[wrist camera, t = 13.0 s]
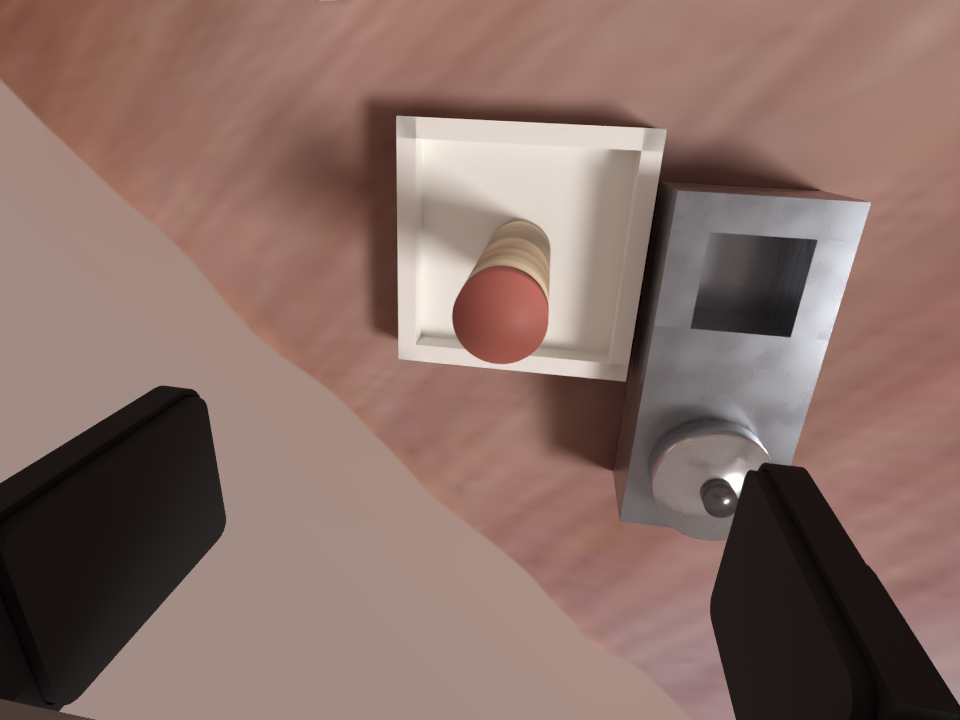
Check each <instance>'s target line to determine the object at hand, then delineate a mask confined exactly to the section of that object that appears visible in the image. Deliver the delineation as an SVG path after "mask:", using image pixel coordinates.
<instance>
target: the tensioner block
mask: <svg viewBox="0 0 960 720" xmlns="http://www.w3.org/2000/svg"><path fill="white" fill-rule="evenodd" d="M870 205H871V202H867V201H863V200H859V199H854V198H850V197H846V196H842V195H837V194H833V193H829V192H825V191H815V190H798V189H781V188H765V187H748V186H731V185H714V184H697V183H681V182H664V181H660V187H659V193H658V200H657V206H656V212H655V218H654V224H653V230H652V236H651V242H650V249H649V255H648V261H647V267H646V273H645V279H644V285H643V291H642V298H641V304H640V310H639V316H638V322H637V328H636V334H635V340H634V347H633V353H632V359H631V365H630V371H629V377H628V383H627V389H626V395H625V402H624V408H623V414H622V420H621V426H620V432H619V438H618V444H617V451H616V457H615V463H614V469H613V475H614V482H615V490H616V497H617V505H618V512H619V519H620V521H623V522H631V523H639V524H647V525H654V526H662V527H670V528H674V529H675V530H677V531H679V532H680V533H682V534H684V535H687V536H689V537H693V538H696V539H701V540H710V541H721V540H727V539H728V535H729V531H730V528H731V524H732V521H733V517H734V514H735V510H736V506H737V503H738V499H739V496H740V492H741V488H742V485H743V481H744V478H745V475H746V473H747V472H748V471H749V470H756V471H758V469H759V467H760V466H761V464H763V463H764V462H765V463H773V464H781V465H789V466H791V463H792V459H793V456H794V453H795V450H796V446H797V443H798V440H799V437H800V433H801V430H802V427H803V424H804V420H805V417H806V414H807V410H808V407H809V404H810V401H811V397H812V394H813V391H814V388H815V384H816V381H817V378H818V375H819V371H820V368H821V365H822V361H823V358H824V355H825V352H826V348H827V345H828V342H829V339H830V335H831V332H832V329H833V326H834V322H835V319H836V316H837V313H838V309H839V306H840V303H841V299H842V296H843V293H844V290H845V286H846V283H847V280H848V277H849V273H850V270H851V267H852V264H853V260H854V257H855V254H856V250H857V247H858V244H859V241H860V237H861V234H862V231H863V228H864V224H865V221H866V218H867V215H868V211H869V208H870Z"/></svg>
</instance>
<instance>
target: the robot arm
mask: <svg viewBox="0 0 960 720" xmlns="http://www.w3.org/2000/svg"><path fill="white" fill-rule="evenodd" d="M225 524H226V515H225V510H224V503H223V497H222V492H221V485H220V479H219V474H218V467H217V462H216V456H215V450H214V444H213V438H212V432H211V426H210V420H209V415H208V409H207V405H206V403H205V401H204V400H203V399H201V398H200V396H199V395H198V394H197V392H196V391H194V390H192V389H186V388H178V387H170V386H159V387H156V388H154V389H153V390H151V391H150V392H148V393H146V394H145V395H143V396H141V397H140V398H138V399H136V400H135V401H133V402H132V403H130V404H128V405H127V406H125V407H124V408H122V409H120V410H119V411H117V412H116V413H114V414H112V415H111V416H109V417H107V418H106V419H104V420H102V421H101V422H99V423H97V424H96V425H94V426H93V427H91V428H89V429H88V430H86V431H85V432H83V433H81V434H80V435H78V436H76V437H75V438H73V439H72V440H70V441H68V442H67V443H65V444H64V445H62V446H60V447H59V448H57V449H55V450H54V451H52V452H50V453H49V454H47V455H46V456H44V457H43V458H41V459H39V460H37V461H36V462H34V463H33V464H31V465H29V466H28V467H26V468H25V469H23V470H22V471H20V472H18V473H16V474H15V475H13V476H11V477H10V478H8V479H7V480H5V481H3V482H2V483H0V720H94V719H90V718H85V717H80V716H76V715H71V714H66V713H62V712H59V711H60V710H61V708H62V707H63V706H64V705H68V704H70V703H72V702H74V701H75V700H76V699H78V698H79V697H80V696H81V695H82V693H83V692H84V691H85V690H86V689H87V688H88V687H89V686H90V684H91V683H92V682H93V681H94V680H95V679H96V678H97V677H98V675H99V674H100V673H101V672H102V671H103V670H104V668H105V667H106V666H107V665H108V664H109V663H110V662H111V661H112V660H113V658H114V657H115V656H116V655H117V654H118V653H119V651H120V650H121V649H122V648H123V647H124V646H125V645H126V643H128V641H129V640H130V639H131V638H132V637H133V636H134V635H135V633H136V632H137V631H138V630H139V629H140V628H141V627H142V625H143V624H144V623H145V622H146V621H147V620H148V619H149V618H150V616H151V615H152V614H153V613H154V612H155V611H156V610H157V609H158V607H159V606H160V605H161V604H162V603H163V602H164V601H165V599H166V598H167V597H168V596H169V595H170V594H171V592H173V590H174V589H175V588H176V587H177V586H178V585H179V584H180V583H181V581H182V580H183V579H184V578H185V577H186V576H187V575H188V573H189V572H190V571H191V570H192V569H193V568H194V567H195V565H196V564H197V563H198V562H199V561H200V560H201V559H202V558H203V556H204V555H205V554H206V553H207V552H208V551H209V550H210V549H211V547H212V546H213V545H214V544H215V543H216V542H217V540H218V539H219V538H220V537H221V535H222V533H223V531H224V528H225ZM710 614H711V621H712V625H713V629H714V633H715V637H716V641H717V645H718V649H719V653H720V657H721V661H722V666H723V670H724V674H725V678H726V682H727V686H728V690H729V694H730V698H731V702H732V706H733V710H734V714H735V718H736V720H960V705H959V704H958V702H957V701H956V699H955V698H954V696H953V694H952V693H951V691H950V690H949V688H948V687H947V685H946V683H945V682H944V680H943V679H942V677H941V676H940V674H939V672H938V671H937V669H936V668H935V666H934V665H933V663H932V662H931V660H930V658H929V657H928V655H927V654H926V652H925V651H924V649H923V647H922V646H921V644H920V643H919V641H918V640H917V638H916V636H915V635H914V633H913V632H912V630H911V629H910V627H909V626H908V624H907V622H906V621H905V619H904V618H903V616H902V615H901V613H900V611H899V610H898V608H897V607H896V605H895V604H894V602H893V600H892V599H891V597H890V596H889V594H888V593H887V591H886V590H885V588H884V586H883V585H882V583H881V582H880V580H879V579H878V577H877V575H876V574H875V573H874V572H873V570H872V569H871V568H870V567H869V566H868V565H866V563H865V561H864V560H863V558H862V557H861V555H860V554H859V552H858V550H857V549H856V547H855V546H854V544H853V542H852V541H851V539H850V538H849V536H848V535H847V533H846V531H845V530H844V528H843V527H842V525H841V523H840V522H839V520H838V519H837V517H836V516H835V514H834V512H833V511H832V509H831V508H830V506H829V504H828V503H827V501H826V500H825V498H824V497H823V495H822V493H821V492H820V490H819V489H818V487H817V485H816V484H815V482H814V481H813V479H812V478H811V476H810V474H809V473H808V471H807V470H806V469H805V468H802V467H797V466H789V465H781V464H773V463H765V462H764V463H763V464H761V466H760V467H759V469H758V471H756V470H749V471H748V472H747V473H746V475H745V478H744V481H743V485H742V488H741V492H740V496H739V499H738V503H737V506H736V510H735V514H734V517H733V521H732V524H731V528H730V531H729V535H728V539H727V542H726V546H725V549H724V553H723V557H722V560H721V564H720V567H719V571H718V574H717V578H716V582H715V585H714V589H713V592H712V596H711V603H710Z"/></svg>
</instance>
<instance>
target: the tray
mask: <svg viewBox="0 0 960 720" xmlns="http://www.w3.org/2000/svg"><path fill="white" fill-rule="evenodd" d="M666 131H667V129H655V128H635V127H614V126H594V125H574V124H554V123H533V122H513V121H493V120H472V119H452V118H432V117H411V116H396V149H397V249H398V349H399V359H403V360H413V361H423V362H433V363H443V364H453V365H463V366H473V367H483V368H493V369H503V370H513V371H523V372H533V373H543V374H553V375H563V376H573V377H583V378H593V379H603V380H613V381H623V382H626V378H627V372H628V366H629V360H630V354H631V347H632V341H633V335H634V329H635V323H636V317H637V310H638V304H639V298H640V292H641V286H642V280H643V273H644V267H645V261H646V255H647V249H648V242H649V236H650V230H651V224H652V218H653V212H654V205H655V199H656V193H657V187H658V181H659V175H660V168H661V162H662V156H663V150H664V144H665V138H666ZM513 220H527V221H530V222H532V223H534V224H536V225H538V226H539V227H540V228H541V229H542V230H543V231H544V232H545V234H546V235H547V237H548V240H549V243H550V249H551V251H550V284H549V317H548V328H547V332H546V335H545V337H544V339H543V341H542V343H541V344H540V346H539V347H538V348H537V349H536V350H535V351H534V352H533V353H532V354H531V355H529V356H528V357H526V358H524V359H522V360H520V361H517V362H514V363H510V364H494V363H489V362H485V361H483V360H480V359H478V358H477V357H475V356H473V355H472V354H471V353H469V352H468V351H467V350H466V349H465V348H464V347H463V346H462V344H461V343H460V341H459V340H458V338H457V336H456V334H455V331H454V328H453V322H452V312H453V306H454V303H455V300H456V298H457V296H458V294H459V293H460V291H461V289H462V287H463V286H464V284H465V282H466V280H467V279H468V277H469V275H470V274H471V272H472V270H473V268H474V267H475V265H476V263H477V261H478V260H479V258H480V256H481V255H482V253H483V251H484V249H485V248H486V246H487V244H488V242H489V241H490V239H491V237H492V236H493V234H494V233H495V231H496V230H497V229H498V228H499V227H500V226H502V225H503V224H505V223H507V222H509V221H513Z"/></svg>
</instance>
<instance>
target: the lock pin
mask: <svg viewBox="0 0 960 720" xmlns="http://www.w3.org/2000/svg"><path fill="white" fill-rule="evenodd" d="M550 251H551V249H550V243H549V240H548V237H547V235H546V234H545V232H544V231H543V230H542V229H541V228H540V227H539V226H538V225H536V224H534V223H532V222H530V221H527V220H513V221H509V222H507V223H505V224H503V225H502V226H500V227H499V228H498V229H497V230H496V231H495V233H494V234H493V236H492V237H491V239H490V241H489V242H488V244H487V246H486V248H485V249H484V251H483V253H482V255H481V256H480V258H479V260H478V261H477V263H476V265H475V267H474V268H473V270H472V272H471V274H470V275H469V277H468V279H467V280H466V282H465V284H464V286H463V287H462V289H461V291H460V293H459V294H458V296H457V298H456V300H455V303H454V306H453V312H452V322H453V328H454V331H455V334H456V336H457V338H458V340H459V341H460V343H461V344H462V346H463V347H464V348H465V349H466V350H467V351H468V352H469V353H471V354H472V355H473V356H475V357H477V358H478V359H480V360H483V361H485V362H489V363H494V364H510V363H514V362H517V361H520V360H522V359H524V358H526V357H528V356H529V355H531V354H532V353H533V352H534V351H535V350H536V349H537V348H538V347H539V346H540V344H541V343H542V341H543V339H544V337H545V335H546V332H547V328H548V317H549V284H550Z"/></svg>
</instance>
